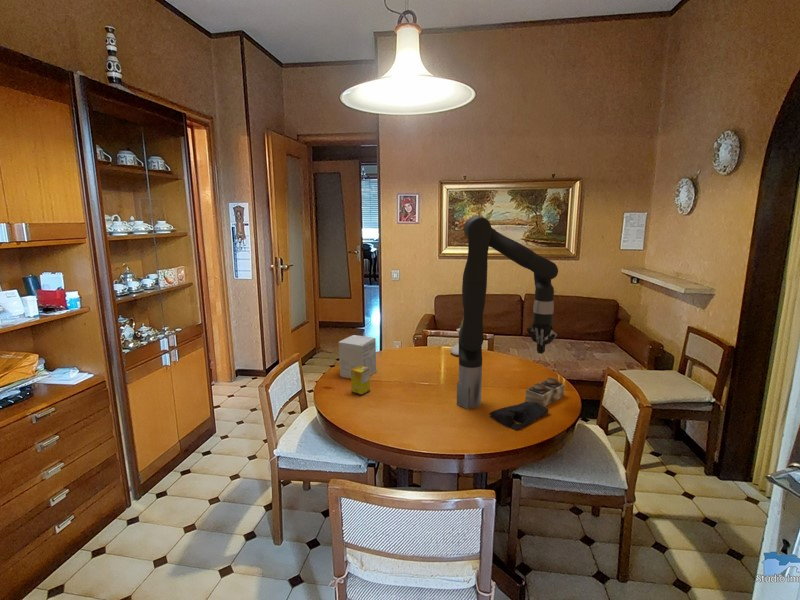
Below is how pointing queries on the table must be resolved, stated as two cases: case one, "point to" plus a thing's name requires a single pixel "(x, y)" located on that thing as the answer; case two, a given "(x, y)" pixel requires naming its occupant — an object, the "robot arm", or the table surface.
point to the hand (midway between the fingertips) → (540, 353)
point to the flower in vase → (456, 348)
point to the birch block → (545, 394)
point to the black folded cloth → (519, 414)
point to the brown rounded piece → (539, 387)
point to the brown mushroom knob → (551, 381)
